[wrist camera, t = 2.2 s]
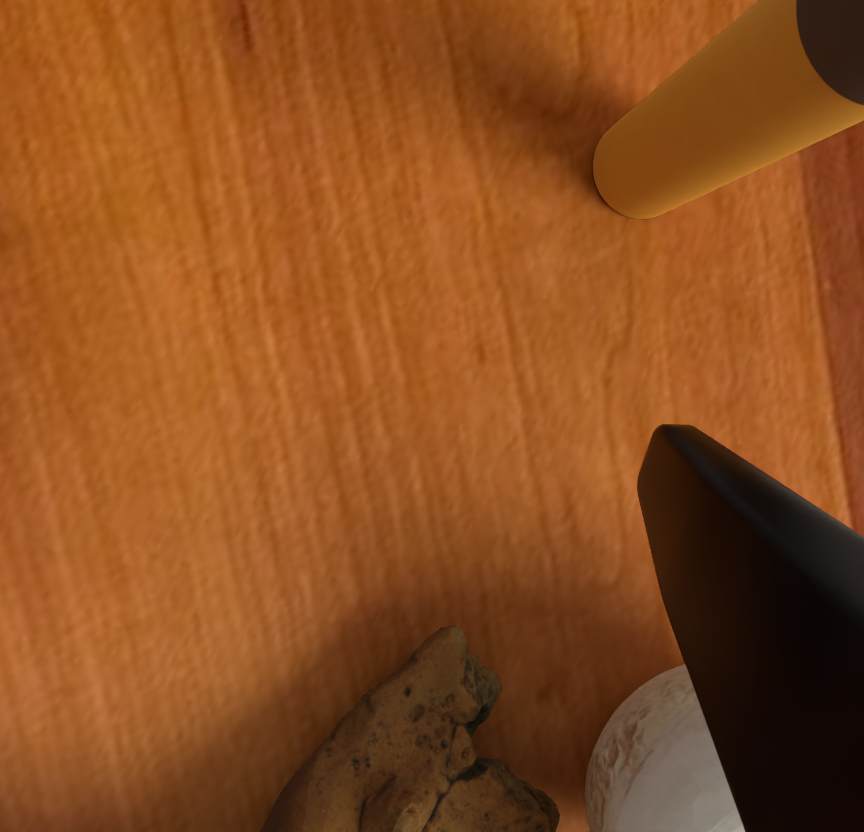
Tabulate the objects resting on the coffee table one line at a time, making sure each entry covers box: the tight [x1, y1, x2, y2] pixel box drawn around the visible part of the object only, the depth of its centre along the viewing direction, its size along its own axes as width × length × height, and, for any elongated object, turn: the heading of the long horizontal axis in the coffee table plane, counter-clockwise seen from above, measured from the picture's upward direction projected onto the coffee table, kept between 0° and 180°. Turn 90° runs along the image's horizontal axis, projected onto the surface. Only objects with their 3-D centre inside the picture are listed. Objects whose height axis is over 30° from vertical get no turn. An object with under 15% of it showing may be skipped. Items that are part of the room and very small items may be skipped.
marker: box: [593, 0, 864, 219], centre depth 17 cm, size 3×3×12 cm
